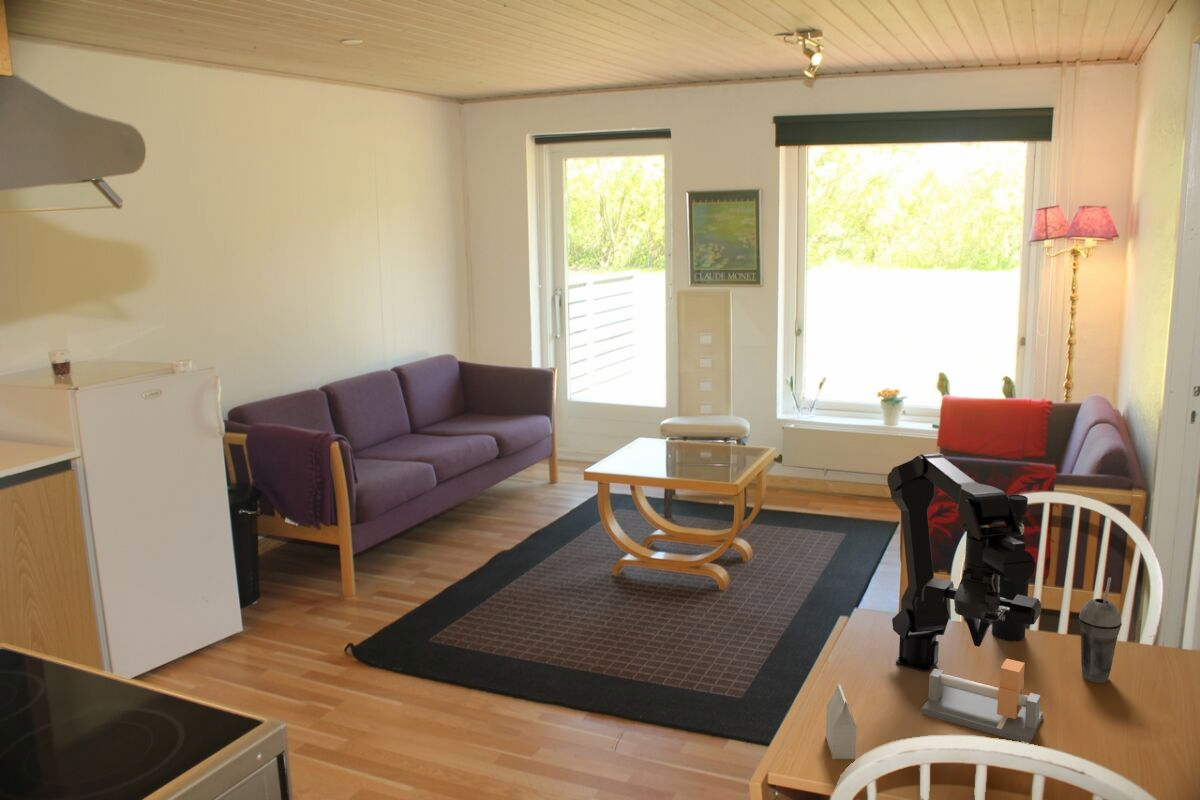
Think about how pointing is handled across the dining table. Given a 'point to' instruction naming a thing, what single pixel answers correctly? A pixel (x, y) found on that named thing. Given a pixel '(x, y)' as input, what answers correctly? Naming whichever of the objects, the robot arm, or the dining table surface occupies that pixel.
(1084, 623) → the beverage cup
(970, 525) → the robot arm
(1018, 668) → the collar
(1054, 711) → the dining table surface
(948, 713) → the rail stand
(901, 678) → the dining table surface
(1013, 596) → the black water bottle
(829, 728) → the grey gable top carton
